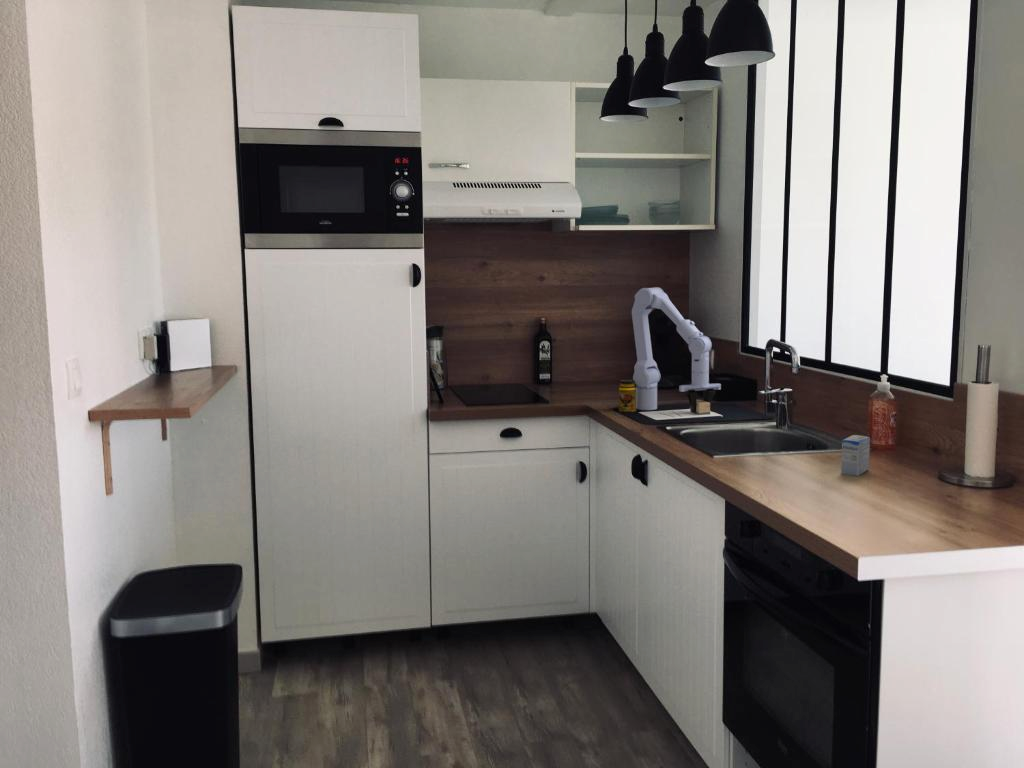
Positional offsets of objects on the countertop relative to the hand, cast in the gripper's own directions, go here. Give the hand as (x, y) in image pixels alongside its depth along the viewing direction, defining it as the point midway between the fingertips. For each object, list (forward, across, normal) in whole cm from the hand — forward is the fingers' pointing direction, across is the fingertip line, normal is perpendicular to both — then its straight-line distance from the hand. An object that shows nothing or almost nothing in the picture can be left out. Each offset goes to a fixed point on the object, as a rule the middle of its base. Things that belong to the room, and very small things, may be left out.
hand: (700, 411), depth 307 cm
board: (+2, -7, +1) cm, 7 cm away
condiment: (+2, -21, +15) cm, 26 cm away
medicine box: (+2, +1, -87) cm, 87 cm away
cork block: (+1, 0, 0) cm, 1 cm away
